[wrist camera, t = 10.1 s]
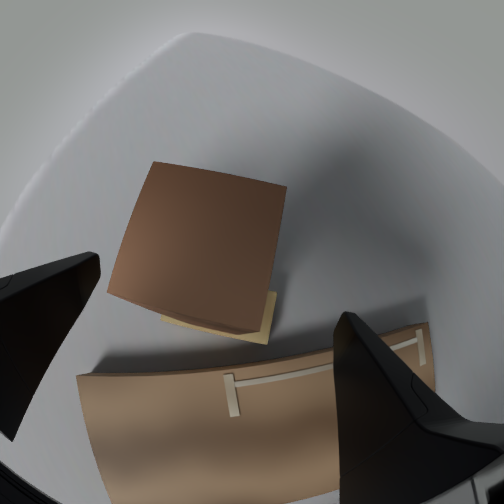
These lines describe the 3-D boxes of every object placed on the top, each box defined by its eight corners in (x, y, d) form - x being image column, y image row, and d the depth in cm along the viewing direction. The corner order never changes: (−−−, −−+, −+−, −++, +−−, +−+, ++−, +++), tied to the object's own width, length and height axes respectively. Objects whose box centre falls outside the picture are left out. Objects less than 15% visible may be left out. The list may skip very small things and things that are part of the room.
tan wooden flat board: (419, 439, 14) (436, 445, 12) (122, 494, 12) (112, 507, 10) (411, 324, 17) (428, 322, 15) (90, 372, 14) (75, 375, 12)
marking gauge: (263, 344, 16) (356, 358, 4) (152, 317, 16) (10, 266, 4) (272, 296, 17) (370, 200, 5) (164, 271, 17) (62, 144, 5)
